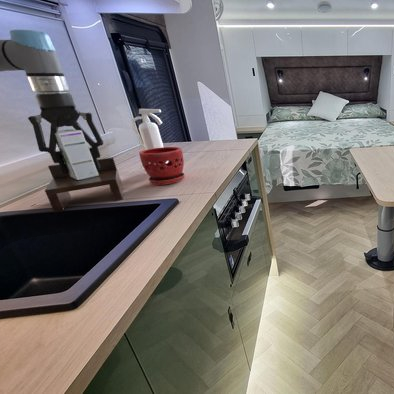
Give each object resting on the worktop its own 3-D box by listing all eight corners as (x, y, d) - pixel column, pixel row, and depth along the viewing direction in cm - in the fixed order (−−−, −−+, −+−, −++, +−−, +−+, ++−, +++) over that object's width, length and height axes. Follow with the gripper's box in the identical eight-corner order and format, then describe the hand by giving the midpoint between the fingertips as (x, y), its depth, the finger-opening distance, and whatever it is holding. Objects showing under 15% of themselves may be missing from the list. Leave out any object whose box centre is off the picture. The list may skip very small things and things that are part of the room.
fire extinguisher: (145, 170, 122) (127, 108, 112) (177, 167, 125) (161, 107, 115) (139, 175, 116) (119, 110, 106) (172, 172, 119) (156, 108, 109)
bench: (54, 212, 84) (38, 176, 79) (62, 198, 94) (48, 165, 90) (122, 199, 92) (111, 166, 88) (123, 187, 103) (113, 157, 98)
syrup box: (99, 175, 92) (83, 129, 87) (76, 180, 88) (57, 132, 82) (92, 172, 95) (76, 128, 90) (69, 177, 91) (50, 131, 85)
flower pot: (188, 183, 106) (180, 150, 101) (146, 189, 101) (135, 155, 96) (188, 173, 117) (181, 144, 112) (150, 178, 111) (141, 148, 107)
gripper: (-4, 95, 74) (35, 180, 83) (96, 91, 85) (121, 167, 93) (5, 94, 79) (41, 173, 88) (98, 91, 90) (122, 162, 99)
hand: (82, 170), depth 91 cm, fingers closed on syrup box, 7 cm apart
